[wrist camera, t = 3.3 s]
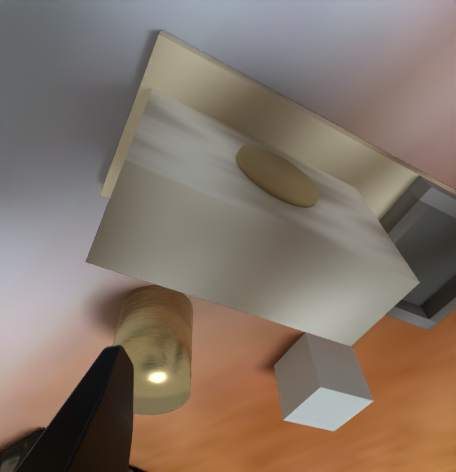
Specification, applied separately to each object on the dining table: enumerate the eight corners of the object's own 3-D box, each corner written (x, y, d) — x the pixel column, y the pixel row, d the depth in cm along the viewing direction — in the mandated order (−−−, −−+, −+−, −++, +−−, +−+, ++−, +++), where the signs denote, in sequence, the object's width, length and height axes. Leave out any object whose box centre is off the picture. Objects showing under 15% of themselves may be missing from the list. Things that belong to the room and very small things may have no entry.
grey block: (352, 346, 29) (373, 401, 26) (318, 377, 32) (333, 431, 28) (305, 331, 28) (320, 387, 24) (273, 364, 30) (283, 420, 27)
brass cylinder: (204, 298, 25) (204, 378, 20) (176, 340, 28) (170, 421, 23) (135, 276, 24) (118, 357, 19) (112, 322, 26) (91, 405, 21)
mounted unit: (517, 224, 23) (646, 332, 16) (422, 307, 27) (494, 420, 20) (161, 29, 16) (131, 81, 9) (104, 183, 20) (55, 297, 13)
